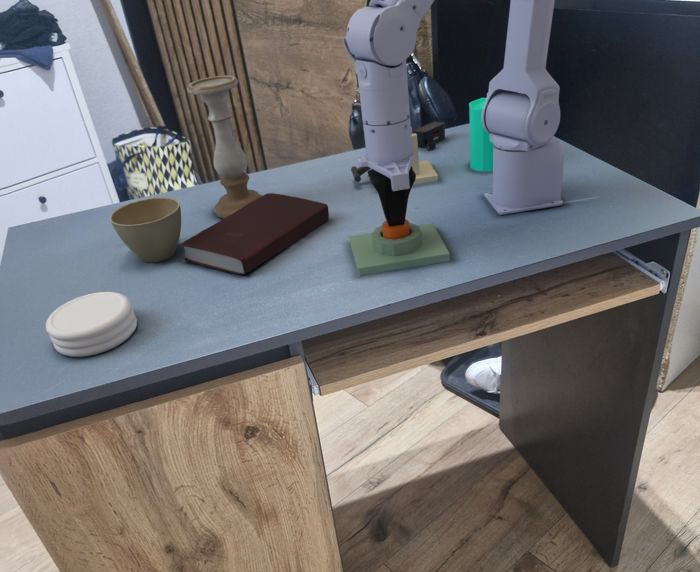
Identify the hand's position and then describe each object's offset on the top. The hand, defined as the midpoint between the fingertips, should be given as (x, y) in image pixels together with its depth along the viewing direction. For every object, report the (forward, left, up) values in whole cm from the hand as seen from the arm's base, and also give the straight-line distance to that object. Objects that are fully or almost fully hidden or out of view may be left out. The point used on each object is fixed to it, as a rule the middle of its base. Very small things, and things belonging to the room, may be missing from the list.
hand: (395, 223), depth 85 cm
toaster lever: (-3, -27, -1) cm, 27 cm away
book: (+19, -11, -4) cm, 22 cm away
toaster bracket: (-6, -27, -4) cm, 28 cm away
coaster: (+39, +9, -4) cm, 40 cm away
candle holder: (+22, -25, -4) cm, 34 cm away
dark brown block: (-14, -42, -4) cm, 44 cm away
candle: (-20, -27, -4) cm, 34 cm away
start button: (0, 0, -2) cm, 2 cm away
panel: (0, 0, -4) cm, 4 cm away
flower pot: (+34, -12, -4) cm, 36 cm away
